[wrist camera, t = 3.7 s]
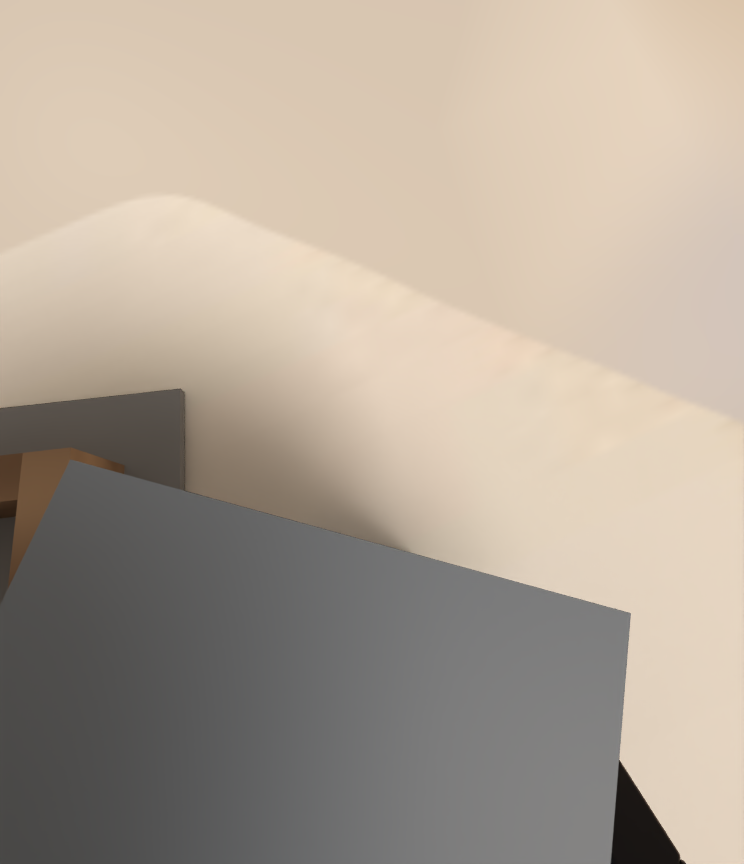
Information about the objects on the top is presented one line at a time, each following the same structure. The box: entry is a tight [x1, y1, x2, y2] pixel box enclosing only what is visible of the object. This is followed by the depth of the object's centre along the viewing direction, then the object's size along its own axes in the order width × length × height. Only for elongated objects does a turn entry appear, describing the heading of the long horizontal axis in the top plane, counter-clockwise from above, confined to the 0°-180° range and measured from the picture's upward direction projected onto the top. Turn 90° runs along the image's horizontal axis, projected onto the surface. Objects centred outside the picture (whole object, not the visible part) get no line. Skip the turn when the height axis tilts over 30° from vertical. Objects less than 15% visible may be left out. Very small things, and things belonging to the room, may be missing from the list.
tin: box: [0, 459, 631, 864], centre depth 9 cm, size 5×5×12 cm
